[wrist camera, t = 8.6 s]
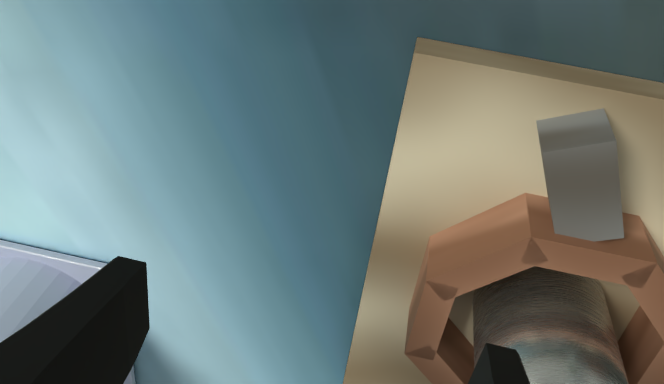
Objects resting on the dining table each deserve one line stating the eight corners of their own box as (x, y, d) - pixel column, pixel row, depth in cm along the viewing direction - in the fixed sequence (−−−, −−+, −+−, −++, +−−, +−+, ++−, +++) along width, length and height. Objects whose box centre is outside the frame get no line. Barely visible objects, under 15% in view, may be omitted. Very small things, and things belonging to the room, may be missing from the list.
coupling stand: (615, 438, 26) (632, 515, 24) (344, 375, 27) (331, 443, 25) (840, 115, 17) (911, 183, 14) (417, 36, 18) (408, 86, 15)
